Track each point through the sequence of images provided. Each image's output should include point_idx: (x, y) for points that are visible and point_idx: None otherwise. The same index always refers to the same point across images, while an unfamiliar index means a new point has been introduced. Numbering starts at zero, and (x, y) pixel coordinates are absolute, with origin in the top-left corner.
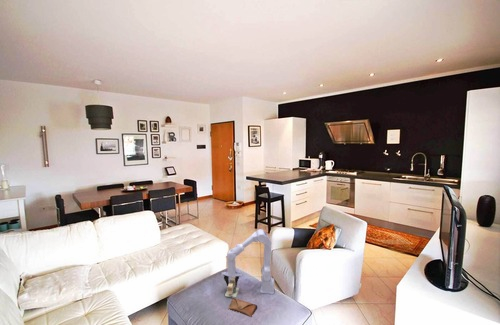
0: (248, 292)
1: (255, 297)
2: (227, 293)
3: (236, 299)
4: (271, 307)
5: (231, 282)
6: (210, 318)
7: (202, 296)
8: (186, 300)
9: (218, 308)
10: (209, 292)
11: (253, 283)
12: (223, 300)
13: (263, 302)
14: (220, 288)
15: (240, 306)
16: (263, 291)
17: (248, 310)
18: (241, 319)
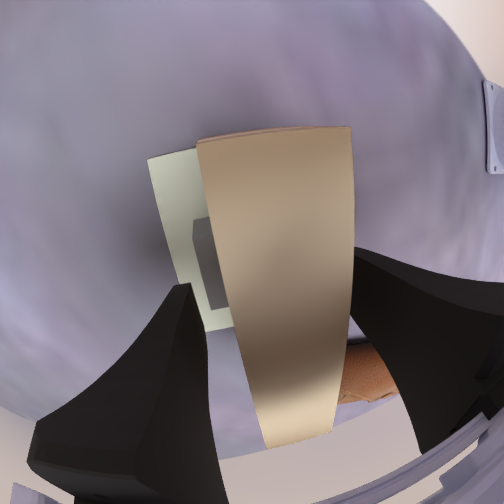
0: (421, 183)
1: (461, 233)
2: (206, 295)
3: (361, 392)
4: (499, 279)
5: (296, 370)
6: (220, 455)
7: (32, 366)
8: (10, 398)
9: (222, 420)
10: (27, 317)
11: (425, 30)
12: (213, 367)
13: (485, 261)
14: (62, 222)
15: (384, 398)
16: (502, 164)
17: None
18: (375, 405)
